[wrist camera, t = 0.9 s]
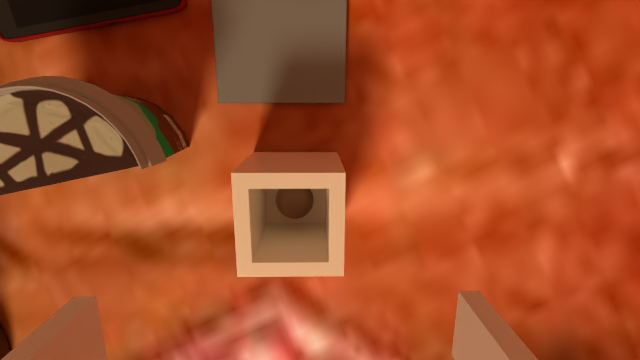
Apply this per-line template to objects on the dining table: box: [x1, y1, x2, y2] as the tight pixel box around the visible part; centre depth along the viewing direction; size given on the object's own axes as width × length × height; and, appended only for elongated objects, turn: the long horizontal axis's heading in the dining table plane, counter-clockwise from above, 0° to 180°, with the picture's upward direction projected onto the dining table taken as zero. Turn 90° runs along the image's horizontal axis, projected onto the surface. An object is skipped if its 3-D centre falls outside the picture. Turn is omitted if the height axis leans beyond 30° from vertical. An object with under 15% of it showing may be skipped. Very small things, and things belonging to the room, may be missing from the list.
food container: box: [0, 76, 189, 195], centre depth 23 cm, size 12×6×10 cm, turn 102°
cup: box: [231, 152, 346, 277], centre depth 26 cm, size 7×7×8 cm
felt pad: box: [211, 0, 347, 103], centre depth 26 cm, size 10×15×1 cm, turn 0°
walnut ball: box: [276, 189, 314, 219], centre depth 27 cm, size 3×3×3 cm
